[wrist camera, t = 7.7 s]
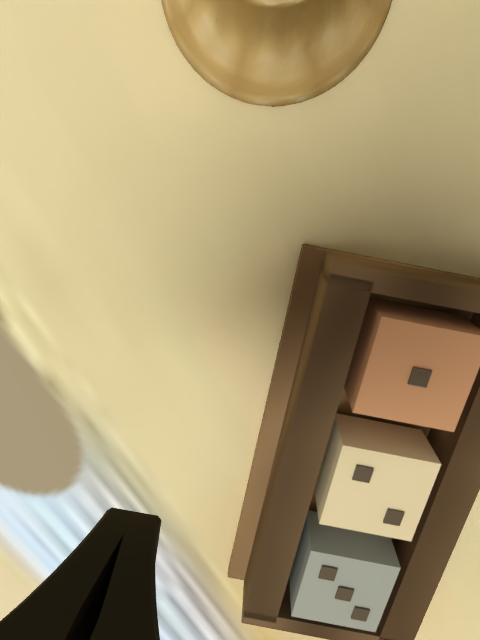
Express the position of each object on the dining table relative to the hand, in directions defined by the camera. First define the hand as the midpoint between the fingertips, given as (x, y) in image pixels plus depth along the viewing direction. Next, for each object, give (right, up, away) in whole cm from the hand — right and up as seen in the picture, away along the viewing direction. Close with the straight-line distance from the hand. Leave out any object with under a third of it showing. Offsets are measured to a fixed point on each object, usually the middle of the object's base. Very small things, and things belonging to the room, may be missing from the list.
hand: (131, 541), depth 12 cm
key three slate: (+8, -6, +11) cm, 15 cm away
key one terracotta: (+10, +5, +7) cm, 13 cm away
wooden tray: (+9, 0, +10) cm, 13 cm away
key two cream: (+9, -1, +9) cm, 13 cm away
